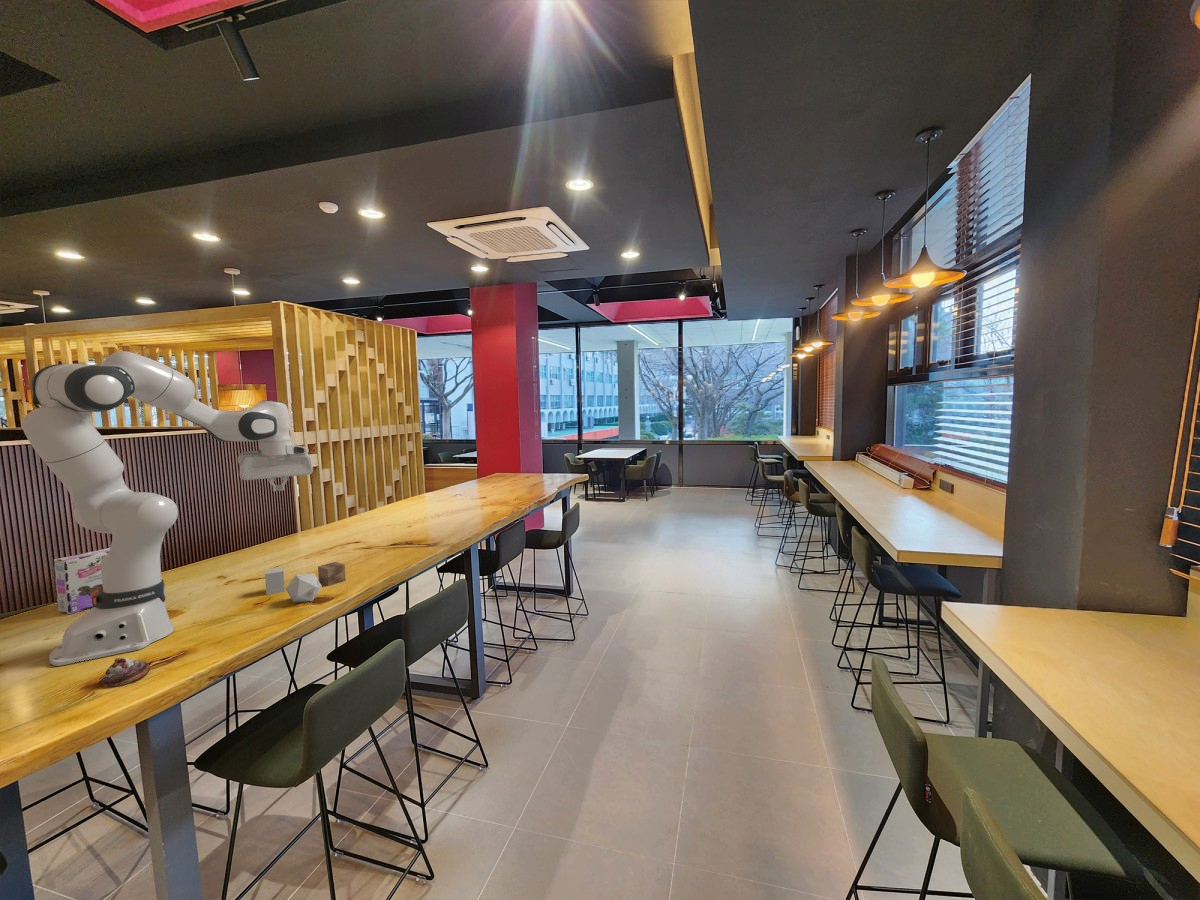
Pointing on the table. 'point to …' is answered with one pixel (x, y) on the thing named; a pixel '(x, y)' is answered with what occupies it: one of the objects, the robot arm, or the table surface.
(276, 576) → the grey plastic block
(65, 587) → the candy box
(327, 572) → the walnut cube
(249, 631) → the table surface
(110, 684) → the pastry
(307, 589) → the die
